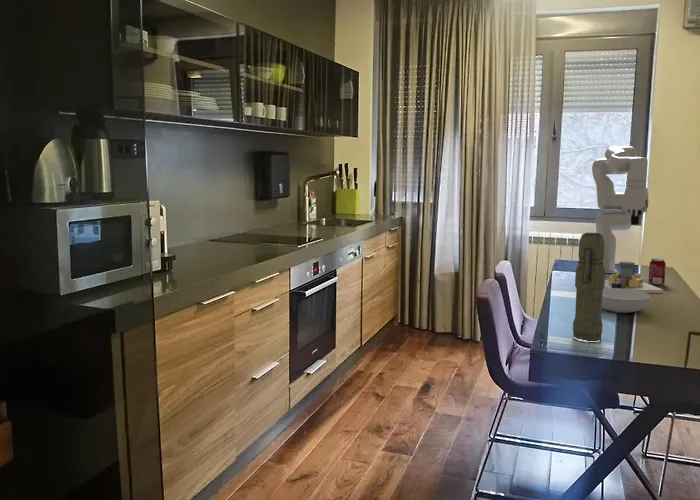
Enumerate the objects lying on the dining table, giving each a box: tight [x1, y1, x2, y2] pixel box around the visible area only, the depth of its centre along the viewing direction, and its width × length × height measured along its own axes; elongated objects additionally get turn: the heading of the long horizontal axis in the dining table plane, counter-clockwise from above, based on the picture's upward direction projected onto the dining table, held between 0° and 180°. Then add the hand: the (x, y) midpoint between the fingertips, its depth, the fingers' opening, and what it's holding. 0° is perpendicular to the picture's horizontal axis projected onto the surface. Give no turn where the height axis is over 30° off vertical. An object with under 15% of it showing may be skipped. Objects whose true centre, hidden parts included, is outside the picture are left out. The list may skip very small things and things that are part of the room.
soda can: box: [648, 258, 667, 286], centre depth 279 cm, size 7×7×12 cm
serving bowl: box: [602, 288, 651, 314], centre depth 231 cm, size 21×21×7 cm
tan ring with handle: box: [608, 271, 644, 288], centre depth 268 cm, size 24×14×4 cm, turn 140°
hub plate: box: [604, 261, 664, 294], centre depth 272 cm, size 24×22×12 cm
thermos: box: [572, 232, 606, 341], centre depth 191 cm, size 9×12×35 cm
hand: (634, 224), depth 272 cm, fingers closed
